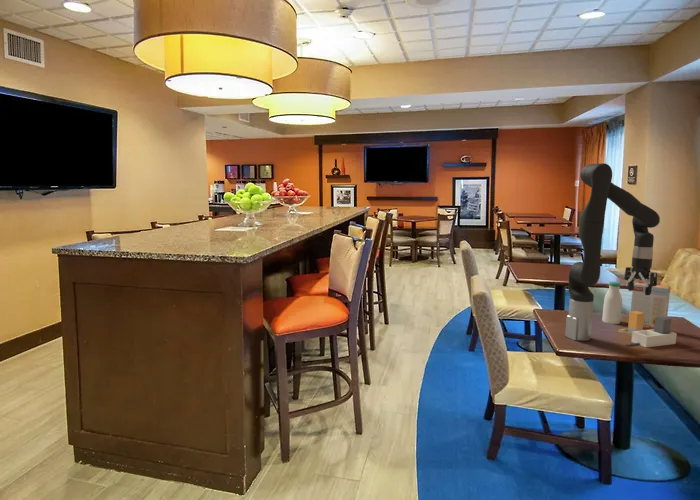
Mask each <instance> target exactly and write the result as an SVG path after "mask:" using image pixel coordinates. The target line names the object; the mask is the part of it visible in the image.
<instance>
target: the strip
mask: <svg viewBox="0 0 700 500" xmlns="http://www.w3.org/2000/svg"><path fill="white" fill-rule="evenodd" d="M671 324H672V318H670V317H667V318H666V317H663V316H661V317H655V325H654V329H651V330H649V329H643V330H642V331H632V337H631V340H630V341H631V343H626V344H625V346H627V347H634V346H635V347H636V346H642V347H644V348H651V347H653V348H654V347H659V346H670V345H675V344H677V343H676V342H677V332H674V331H672V329H671Z"/></svg>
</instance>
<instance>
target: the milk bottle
mask: <svg viewBox="0 0 700 500" xmlns="http://www.w3.org/2000/svg"><path fill="white" fill-rule="evenodd" d="M608 287H609V288H608V290H607V292H606V293H605V296H604V297H603V298H604V299H603V306H602V307H603V308H602V318H601V320H602V322H603V323H606V324H610V325H618V324H620V323H621V320H622V319H621V317H622V309H623V307H622V306H623V298H622V295H621V291H620V288H621V282H617V281H610V282H608Z"/></svg>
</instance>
